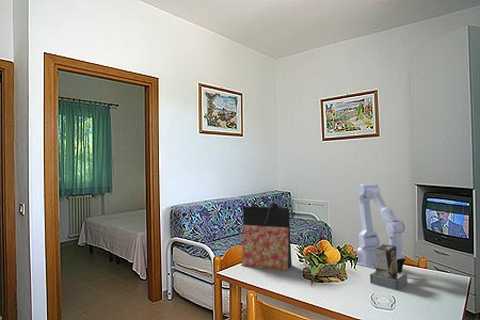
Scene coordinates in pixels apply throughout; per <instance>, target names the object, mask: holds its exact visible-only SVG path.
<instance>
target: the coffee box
mask: <svg viewBox="0 0 480 320" xmlns="http://www.w3.org/2000/svg"><path fill="white" fill-rule="evenodd" d="M375 260H376V267H375V271H376V275H378V276H382V277H386V278H390V279H394V280H397V279H398V278H399V277H398V276H399V275H398V274H399V273H397V255H396V246H391V245H389V244H380V245H379V246H378V247H377V248H376V249H375Z"/></svg>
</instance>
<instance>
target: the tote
mask: <svg viewBox="0 0 480 320" xmlns="http://www.w3.org/2000/svg"><path fill="white" fill-rule="evenodd" d="M369 277H370V278H369V280H370V281H369V282H370V284H372V285H376V286H380V287H384V288H386V289H391V290H395V291H399V290H400V289H402V288H403V287H405V285H407V284H408V274H407V273H404V274H403V275H401V276H400V277H398V279H397V280H394V279H390V278H386V277H382V276H378V275H376V270H374V271H373V272H372V273H370V274H369Z"/></svg>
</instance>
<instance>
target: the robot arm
mask: <svg viewBox="0 0 480 320" xmlns="http://www.w3.org/2000/svg"><path fill="white" fill-rule="evenodd" d="M356 189H357V190H356V191H357V199H358V204H359V213H360V220H361V226H362V231H360V232H359V233H358V241H357V242H358V243H357V244H358V245H359V247H357V250H356V258H357V257H358V259H359V260H358V264H357V265H359V266H364V267H367V268H372V269H376V260H375V249H376V248H377V247H379V246H381V241H380V238H379V235H378V233H377V232H376V231H375V230H374V227H373V226H374V225H373V220H372V219H373V218H372V212H371V211H372V209H371V205H370V201H371V200H373V202H374V203H375V204H376V206H377V207H378V208H379V211H380V212H379V214H380V216H381V218H382V220H383V222H384V223H385V225H386V226H385V230H386V233H387V236H388V245H391V246H396V255H397V274H402V272H403V267H404V264H405V262H406V256H404V252H403V233H404V232H405V229H406V226H405V224H404V222H403V221H402V220H400V219H399V218H397V216H396V214H395V213H394V211H393V209H392V208H391V207H388V206H387V204H386V202H385V200H384V198H383V196H382V195H381V188H380V186H379V185H378V184H377V183H360V184H359V185H358V186H357V188H356Z"/></svg>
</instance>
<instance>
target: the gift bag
mask: <svg viewBox="0 0 480 320" xmlns="http://www.w3.org/2000/svg"><path fill="white" fill-rule="evenodd" d="M290 216H296V211H291V212H290V210H289V207H279V206H278V205H277V204H276V202H272V203H271V204H270V205H269V206H260V205H258V204H256V203H252V206H248V205H247V206H246V205H245V206H244V205H243V206H242V247H241V248H242V249H241V250H242V251H241V252H242V255H241V266H242V267H249V268H259V269H267V270H277V271H284V272H285V271H286V272H287V271H288V272H289V270H290V268H291V267H292V265H293V263H292V250H291V247H292V245H291V228H290V227H291V225H290V223H291V222H290Z"/></svg>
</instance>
